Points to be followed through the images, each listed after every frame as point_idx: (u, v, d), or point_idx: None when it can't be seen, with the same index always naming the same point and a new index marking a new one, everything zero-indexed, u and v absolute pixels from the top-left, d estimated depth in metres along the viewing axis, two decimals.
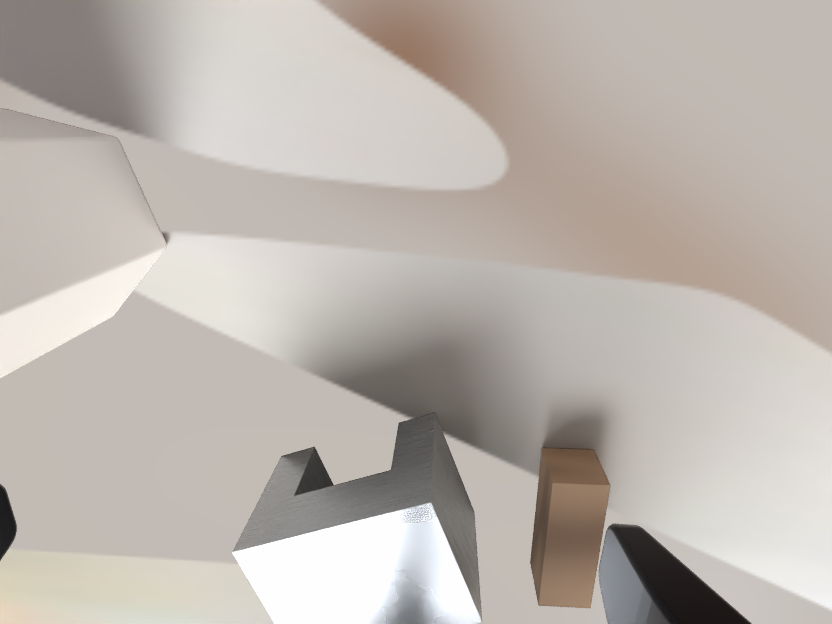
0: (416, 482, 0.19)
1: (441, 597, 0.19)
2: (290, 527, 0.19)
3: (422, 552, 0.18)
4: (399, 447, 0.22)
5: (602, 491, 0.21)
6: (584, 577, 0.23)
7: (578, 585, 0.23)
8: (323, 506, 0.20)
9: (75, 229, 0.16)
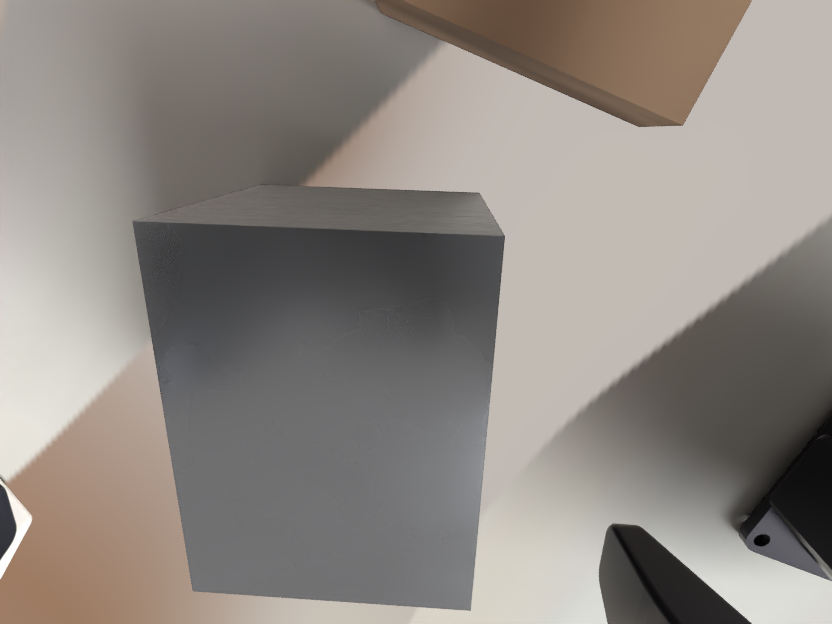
0: None
1: (399, 296, 0.08)
2: None
3: (260, 288, 0.08)
4: None
5: None
6: None
7: (668, 10, 0.10)
8: None
9: None
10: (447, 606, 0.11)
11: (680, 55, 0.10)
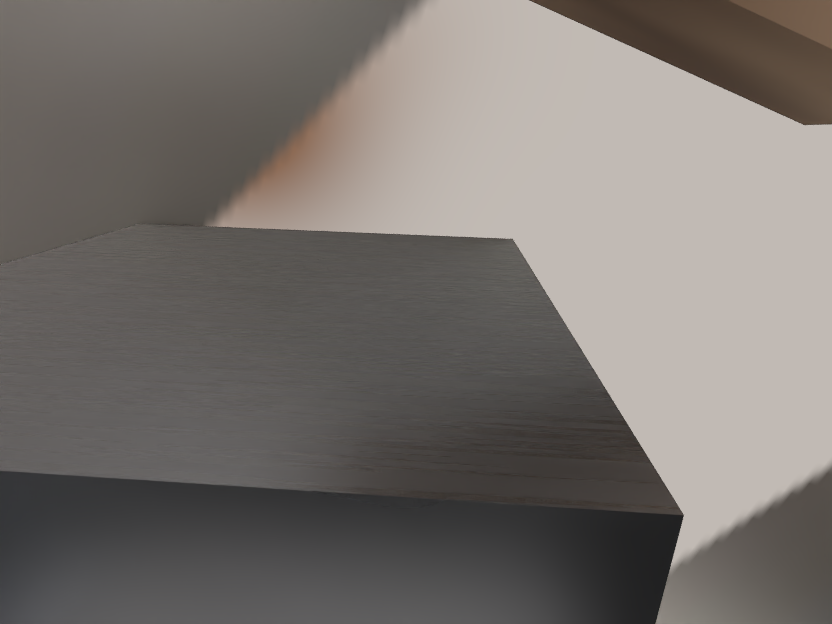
0: None
1: None
2: None
3: None
4: None
5: None
6: None
7: None
8: None
9: None
10: None
11: None
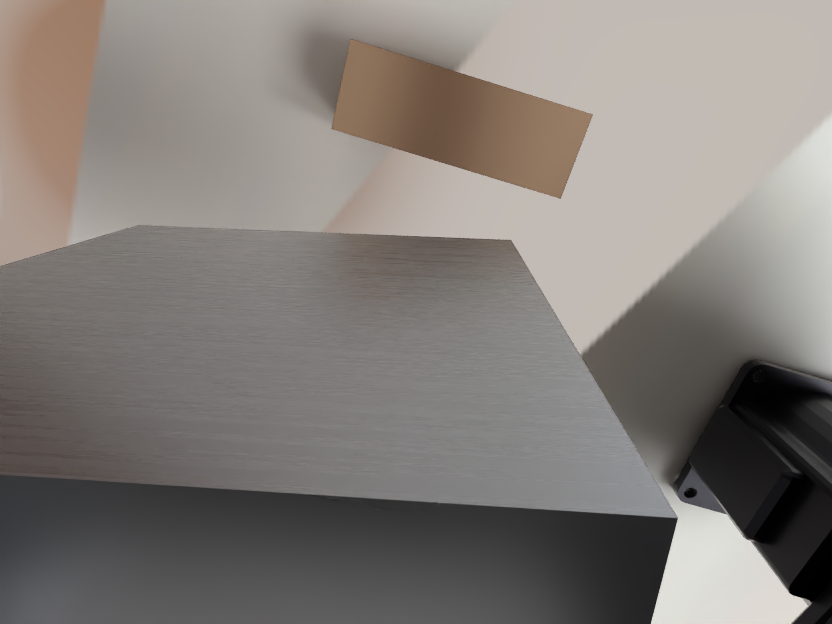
0: None
1: None
2: None
3: None
4: None
5: (359, 53, 0.14)
6: (523, 112, 0.14)
7: (537, 125, 0.14)
8: None
9: None
10: None
11: (550, 153, 0.14)
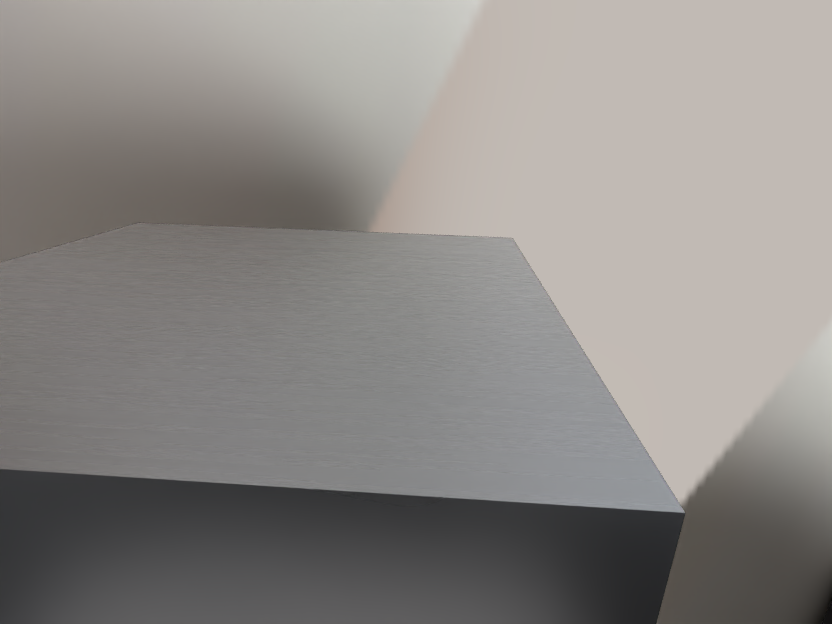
0: None
1: None
2: None
3: None
4: None
5: None
6: None
7: None
8: None
9: None
10: None
11: None
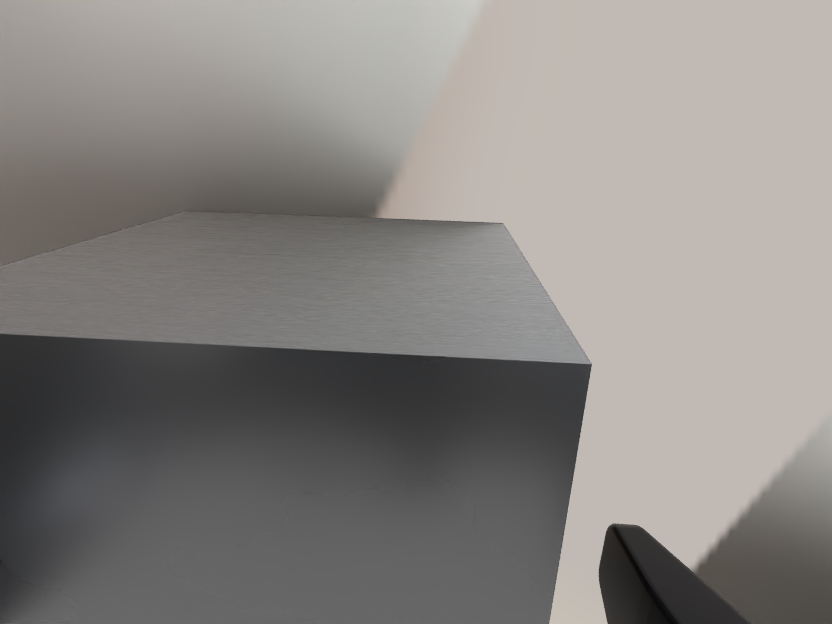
0: None
1: (365, 474, 0.04)
2: None
3: (86, 452, 0.04)
4: None
5: None
6: None
7: None
8: None
9: None
10: None
11: None
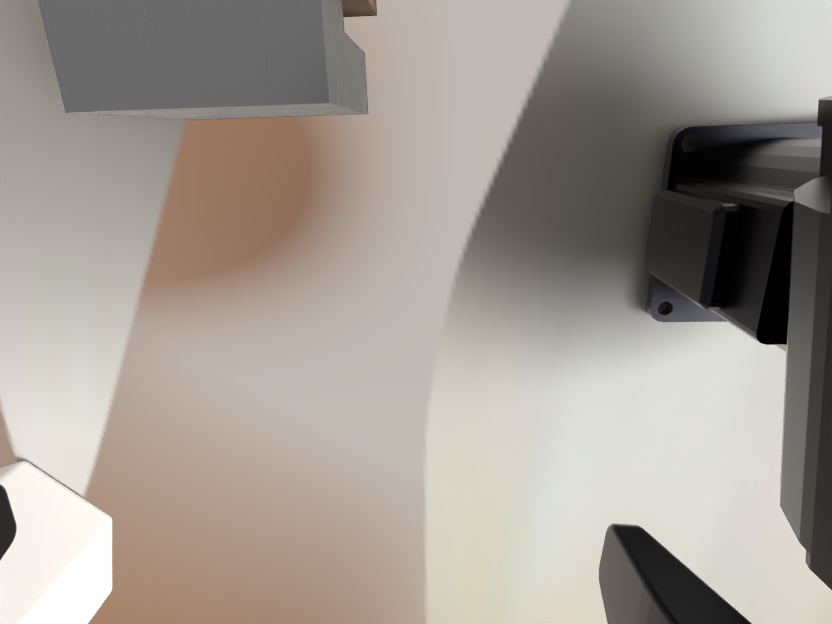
0: None
1: None
2: None
3: None
4: None
5: None
6: None
7: None
8: None
9: None
10: (307, 102, 0.11)
11: None
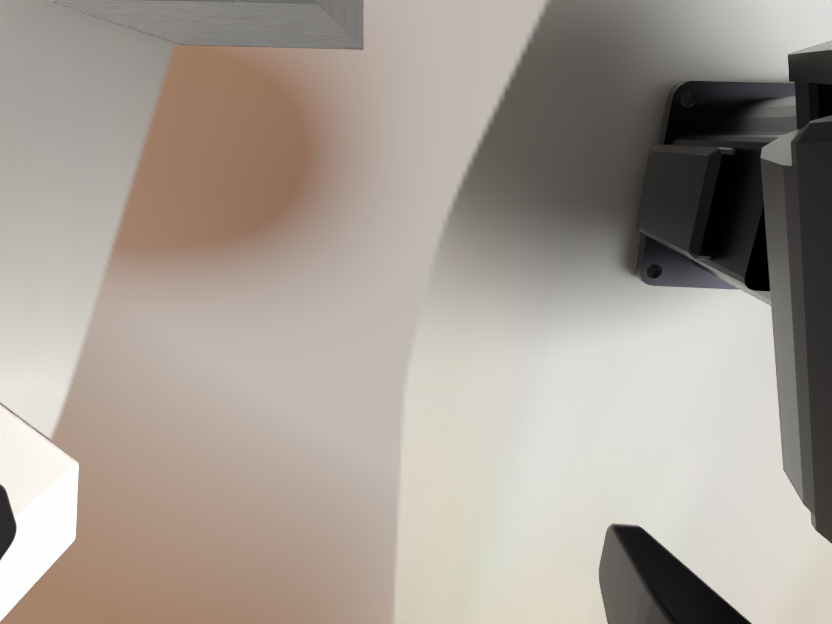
0: None
1: None
2: None
3: None
4: None
5: None
6: None
7: None
8: None
9: None
10: (294, 1, 0.10)
11: None
